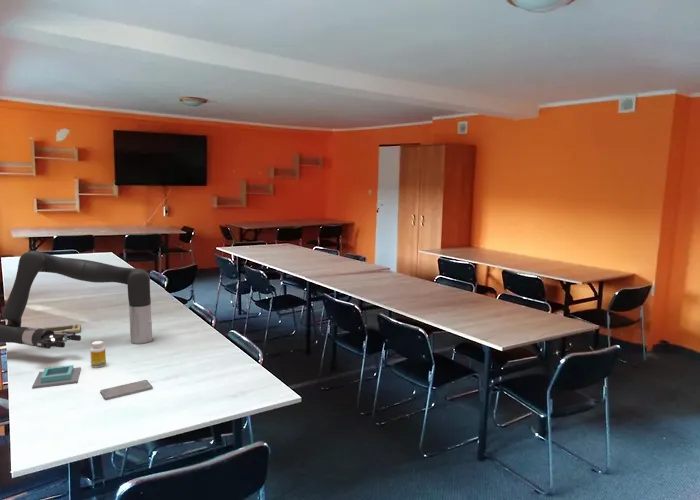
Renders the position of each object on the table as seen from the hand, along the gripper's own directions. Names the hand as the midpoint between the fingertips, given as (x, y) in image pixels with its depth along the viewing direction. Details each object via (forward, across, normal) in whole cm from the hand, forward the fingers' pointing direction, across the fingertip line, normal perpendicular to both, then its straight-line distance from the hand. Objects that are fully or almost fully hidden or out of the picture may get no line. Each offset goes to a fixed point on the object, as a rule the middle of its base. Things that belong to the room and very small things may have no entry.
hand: (72, 341), depth 198 cm
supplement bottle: (+12, 0, +9) cm, 15 cm away
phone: (+37, -17, +9) cm, 42 cm away
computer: (-33, +31, +10) cm, 47 cm away
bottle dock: (+6, -15, +9) cm, 18 cm away
